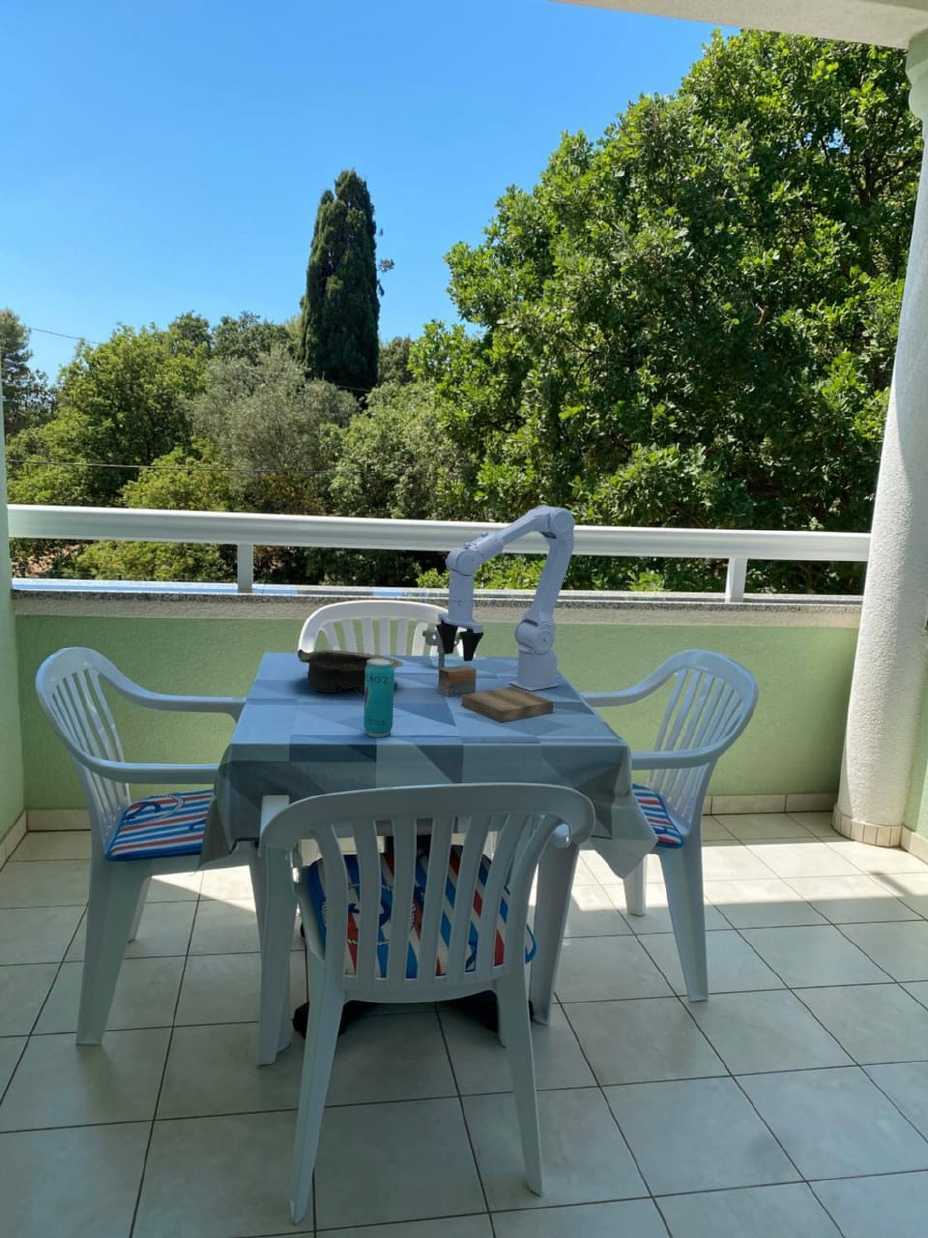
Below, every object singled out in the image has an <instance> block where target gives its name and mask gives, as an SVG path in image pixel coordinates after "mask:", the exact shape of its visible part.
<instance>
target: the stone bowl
mask: <svg viewBox="0 0 928 1238" xmlns="http://www.w3.org/2000/svg"><path fill="white" fill-rule="evenodd" d="M297 657H298V662H301V663H306V664H308V670H307V680H308V682H309V686H310V688H311V689H312V690H314V691H316V692H320V693H321V692H325V693H338V692H341V691H342V690H343V689H345V690H347V689H351V688H354V690H355V693H358V694H360V695H365V668H366V666H367V660H369V659H374V658H384V659H389V660H392V661H393V667H394V670H395V669H397V668H400V667H403V665H404V662H402V661H400V660H398V659H395V658H390V657H388V656H385V655H380V654H371V653H366V652H358V651H346V650H339V649H338V650H337V649H335V650H333V649H323V650H315V651H310V652H307V651H304V650H303V649H301V648H299V649H298V650H297Z"/></svg>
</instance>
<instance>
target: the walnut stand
mask: <svg viewBox="0 0 928 1238" xmlns="http://www.w3.org/2000/svg"><path fill="white" fill-rule="evenodd" d="M461 706H462V707H463V708H466V709H468V710H471V711H472V712H476V713H478V714H480V715H482V716H485V717H487V718H489V719H492V720H494V721H496V722H498V723H505V722H510V721H516V720H521V719H525V718H531V717H536V716H541V715H545V714H551V713H554V700H550V699H548V698H546V697H542V696H540V695H537V694H534V693H532V692H530V691H528V690H525V689H522V688H519V687H517V686H514V685H513V686H507V687H501V688H494V689H489V690H485V691H478V692H475V693H471V694H465V695H461ZM550 712H551V713H550Z"/></svg>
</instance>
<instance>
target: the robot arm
mask: <svg viewBox="0 0 928 1238" xmlns="http://www.w3.org/2000/svg"><path fill="white" fill-rule="evenodd" d="M576 523H577V522H576V520H575V518H574V516H573V514H572V513H571V511H570V510H569V509H567V508H565V507H556V506H548V505H547V504H546V505H545V504H540V505H537V507H535V508H531V509H529V510H528V511H527V513H526V514H524V515H523V516H521V517H519V518H517V519H516V520H515V521H513V522H512V523H510V524H509V525H507V526H505V527H504V528H502V529H501V530H499V531H498V532H494V531H488V532H487V531H483V532H481V533H480V536H479V537H478V538H475V539H474V540H472V541H470V542H469V541H467V542H465V543H464V545H463V547H455V548H453V549H451V551H450V552H449V554H448V555H447V558H446V559H445V566H446V568H447V569H448V571H449V580H448V583H449V584H448V605H447V606H448V607H447V612H441V613H437V615H438V617H437V621H438V622H439V623H438V624H435V628H436V630H438V632H439V634H440V637H441V641H442V645H443V650H444V654H445V655H451V654H454V649H455V647H454V644H456V641H455V637H456V633H457V632H458V630H459V628H461V629H464V630H462V631H459V633H460V636H461V639H462V640H461V643H462V659H463V661H464V662H472V661H473V660H474V656H475V654H476V650H477V647H478V645H479V643H480V641H481V639H482V638H483V637H484V636H485V635H484V633H485V632H483V624H482V623H480V622H478V620H475V619H474V618H473V613H474V612H473V611H474V593H475V592H474V589H475V574H476V573H477V572H478V570H479V569H480V566H481V565H484V564H485V563H487V562H489V561H490V560H491V559H494V558H495V557H497V556H499V555H500V554H502V553H503V551H504V547H505V546H506V545H508V544H510V543H512V542H514V541H516V540H518V539H520V538H521V537H523V536H525V535H528V534H529V533H531V532H538V533H539V534H540V535H542V537H544V539H545V540H546V542H547V545H548V547H549V550H548V554H547V556H546V560H545V562H544V565H543V569H542V571H541V575H540V578H539V581H538V584H537V586H536V587H537V588H536V590H535V591H536V592H535V594H534V598H533V601H532V604H531V606H530V609H528V610H527V611H526V612H524V613H523V615H522V617H521V619H520V622H518V624H517V625H516V626H515V628H514V633H513V635H514V639H515V641H516V643H518V646H517V647H518V655H517V657H518V658H517V672H516V673H517V675H516V680H511V681H508V684H510V685H513V686H514V687H517V688H519V689H522V690H525V691H528V692H532V691H537V690H538V691H539V690H543V689H549V688H554V687H555V688H556V687H559V684H558V683H557V672H558V671H557V670H558V658H557V654H556V653H555V652H554V650H553V649H552V647H553V646H554V643H555V631H556V626H557V624H556V622H555V620H554V617H553V613H554V611H555V608H556V605H557V601H558V599H559V596H560V592H561V588H562V586H563V582H564V580H565V576H566V573H567V570H568V567H569V564H570V560H571V558H572V554H573V551H574V547H575V534H574V529H575V525H576Z"/></svg>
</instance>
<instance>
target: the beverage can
mask: <svg viewBox="0 0 928 1238" xmlns="http://www.w3.org/2000/svg"><path fill="white" fill-rule="evenodd" d="M394 688H395V669H394V667H393V661H392V660H389V659H384V658H374V659H369V660H367V666H366V668H365V694H364V702H363V703H364V707H363V709H364V710H363V727H364V730H365V733H366V734H367V735H368V736H370V737H374V738H383V737H387V736H389V735H390V733H391V730H392V729H393V724H394V718H393V717H394V696H395V695H394V692H395V691H394V690H395V689H394Z"/></svg>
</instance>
